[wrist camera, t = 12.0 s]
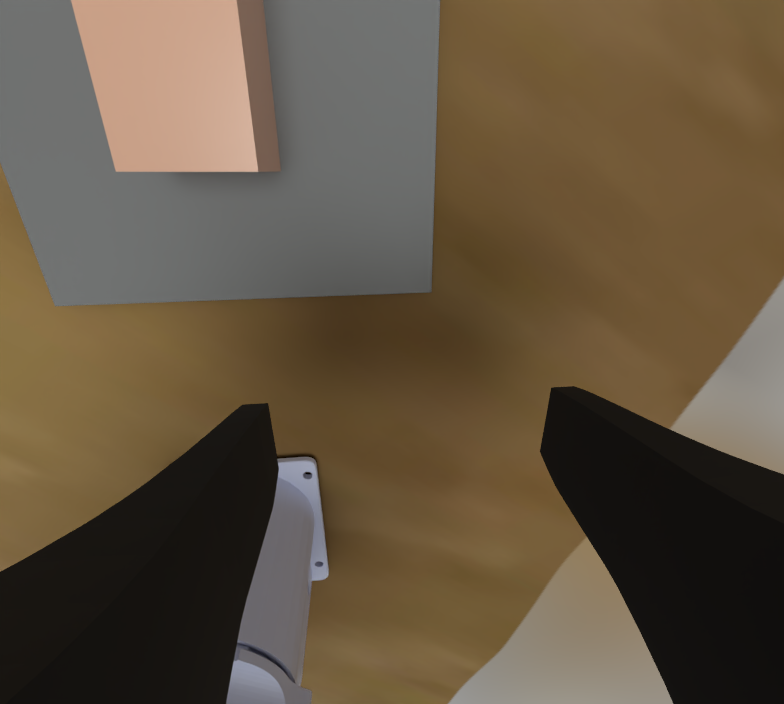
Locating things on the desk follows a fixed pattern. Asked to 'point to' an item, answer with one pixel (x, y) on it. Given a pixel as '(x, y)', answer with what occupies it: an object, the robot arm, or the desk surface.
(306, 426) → the desk surface
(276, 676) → the robot arm
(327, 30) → the desk mat
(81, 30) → the terracotta brick
